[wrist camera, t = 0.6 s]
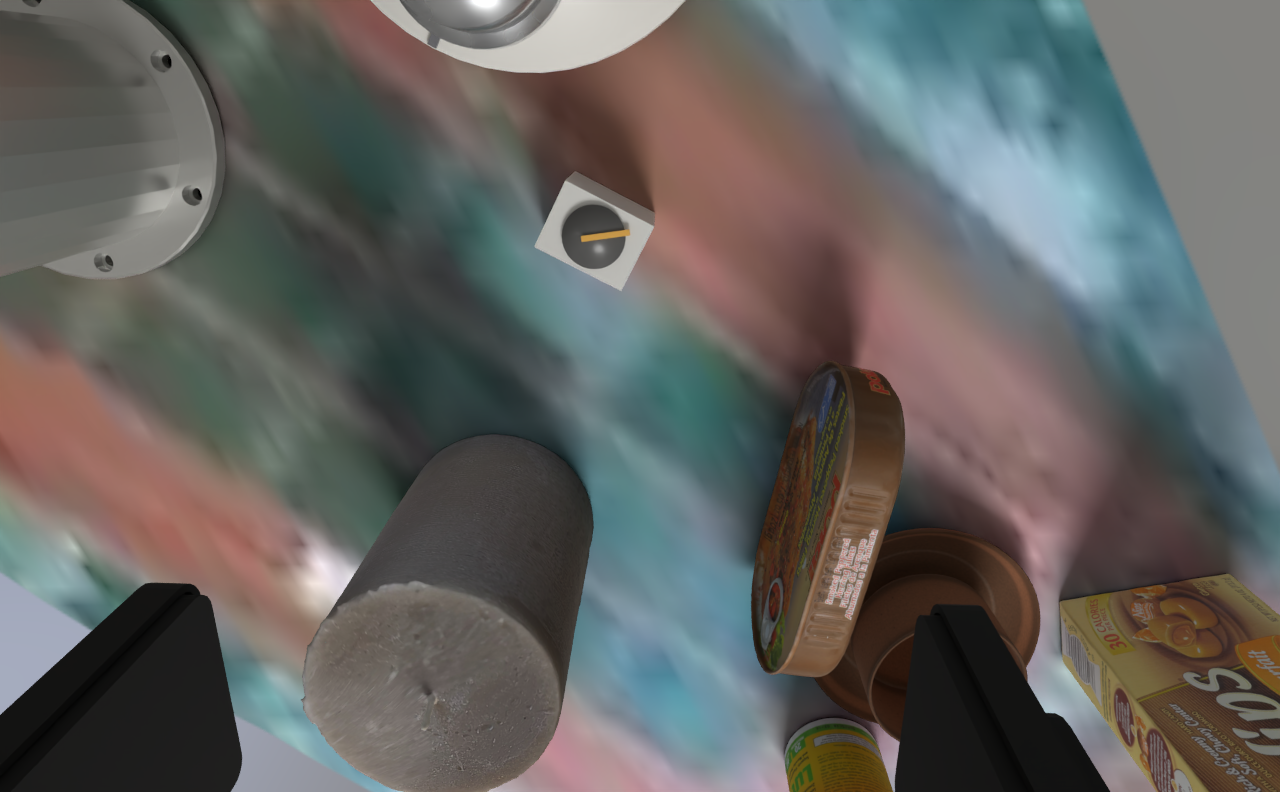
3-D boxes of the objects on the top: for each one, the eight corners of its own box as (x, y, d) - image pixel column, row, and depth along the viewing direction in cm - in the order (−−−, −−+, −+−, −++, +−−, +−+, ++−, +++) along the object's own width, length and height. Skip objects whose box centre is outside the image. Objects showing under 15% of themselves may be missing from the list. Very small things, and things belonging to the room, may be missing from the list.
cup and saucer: (1050, 661, 46) (1106, 744, 40) (841, 729, 48) (866, 818, 42) (989, 479, 42) (1041, 541, 36) (765, 560, 44) (781, 632, 38)
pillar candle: (616, 573, 44) (596, 797, 30) (445, 615, 46) (349, 851, 32) (558, 408, 41) (505, 574, 27) (376, 458, 42) (234, 642, 28)
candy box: (1059, 661, 46) (1243, 925, 31) (1054, 596, 44) (1244, 841, 30) (1229, 632, 45) (1498, 891, 30) (1230, 565, 43) (1512, 802, 29)
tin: (814, 337, 40) (852, 398, 32) (879, 349, 40) (932, 414, 32) (741, 602, 45) (757, 712, 37) (798, 612, 45) (827, 724, 37)
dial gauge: (546, 231, 38) (533, 248, 34) (575, 170, 37) (564, 180, 33) (625, 271, 39) (620, 292, 35) (654, 212, 38) (654, 227, 34)
